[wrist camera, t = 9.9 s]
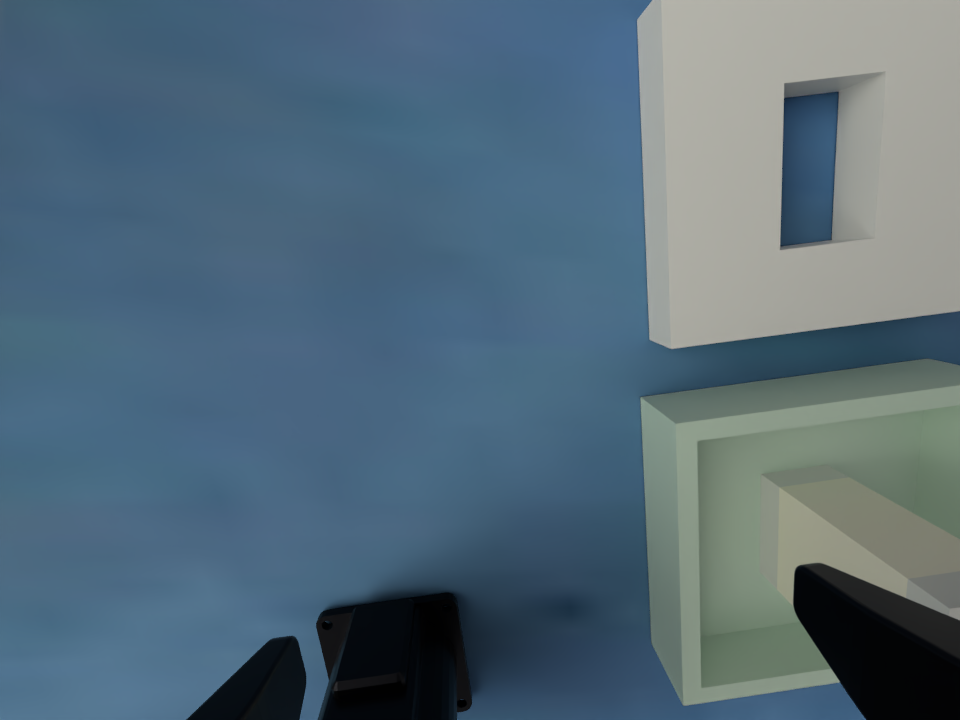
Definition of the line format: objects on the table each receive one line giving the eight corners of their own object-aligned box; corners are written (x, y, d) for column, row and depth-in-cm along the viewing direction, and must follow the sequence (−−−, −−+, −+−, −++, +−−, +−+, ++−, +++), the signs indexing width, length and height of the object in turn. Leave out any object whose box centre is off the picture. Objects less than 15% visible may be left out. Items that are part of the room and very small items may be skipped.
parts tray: (902, 606, 23) (974, 661, 20) (651, 643, 23) (683, 705, 20) (927, 358, 20) (1016, 377, 17) (640, 397, 20) (675, 423, 17)
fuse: (821, 562, 22) (1028, 734, 14) (759, 571, 22) (931, 750, 14) (826, 464, 20) (1055, 592, 13) (760, 474, 20) (949, 608, 13)
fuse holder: (922, 303, 20) (973, 309, 18) (649, 339, 20) (671, 349, 18) (953, -16, 17) (1016, -51, 15) (637, 20, 17) (660, -11, 15)
